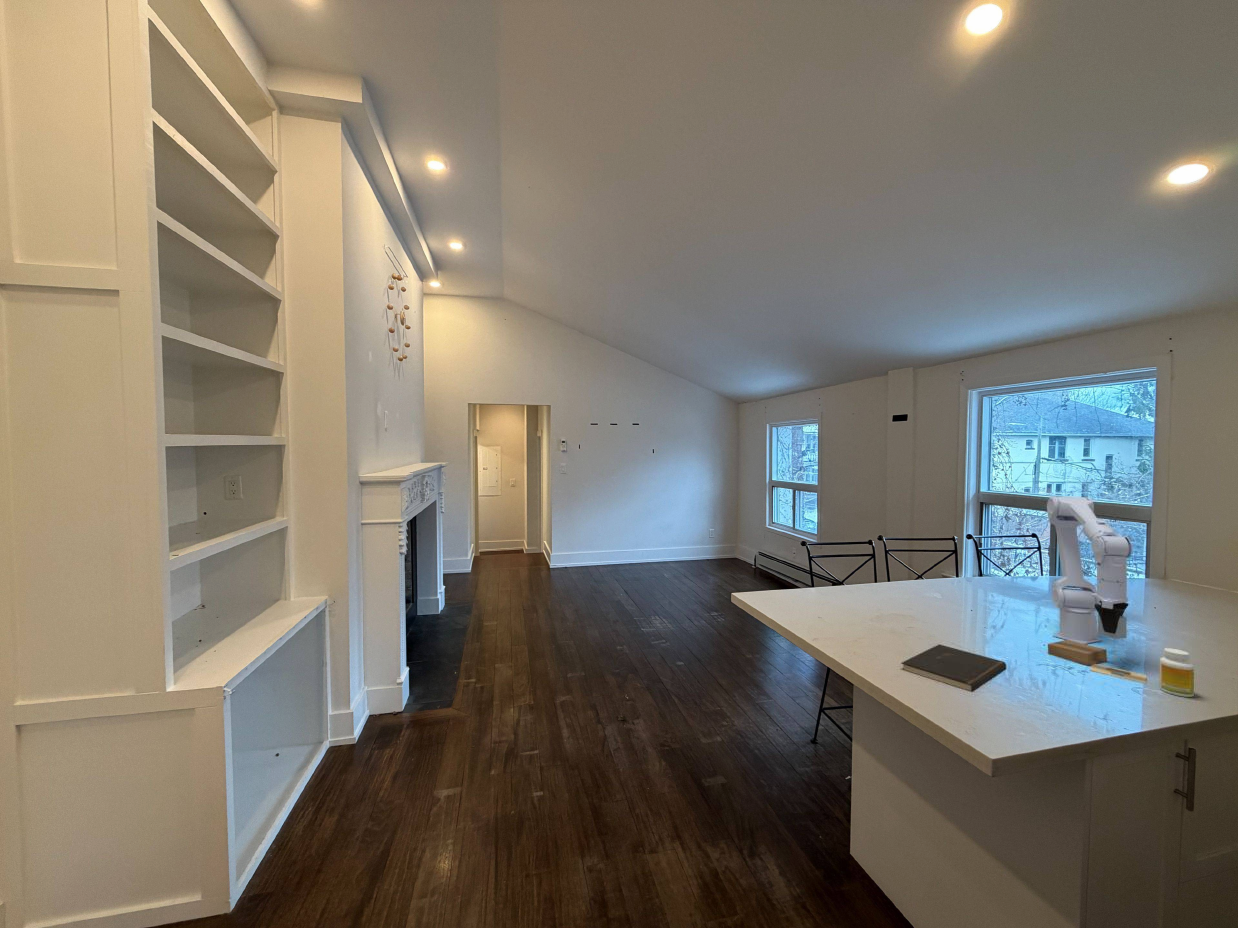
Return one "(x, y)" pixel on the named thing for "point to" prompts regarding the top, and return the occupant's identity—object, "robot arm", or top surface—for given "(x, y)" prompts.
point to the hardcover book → (955, 667)
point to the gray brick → (1119, 632)
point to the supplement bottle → (1176, 673)
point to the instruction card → (1119, 673)
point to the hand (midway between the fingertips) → (1111, 630)
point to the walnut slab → (1077, 652)
